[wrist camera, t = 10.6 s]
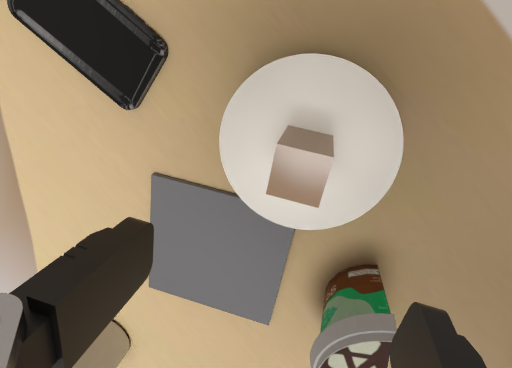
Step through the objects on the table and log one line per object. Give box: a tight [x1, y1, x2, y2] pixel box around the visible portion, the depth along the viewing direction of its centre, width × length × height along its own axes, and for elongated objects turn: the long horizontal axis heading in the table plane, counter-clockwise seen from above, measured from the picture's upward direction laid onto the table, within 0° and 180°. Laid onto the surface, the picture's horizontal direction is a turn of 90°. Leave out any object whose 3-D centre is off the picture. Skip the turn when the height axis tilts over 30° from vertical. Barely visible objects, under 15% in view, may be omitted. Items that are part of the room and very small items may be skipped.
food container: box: [310, 265, 397, 368], centre depth 29 cm, size 12×6×10 cm, turn 3°
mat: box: [149, 173, 295, 325], centre depth 34 cm, size 16×16×1 cm
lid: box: [219, 53, 404, 230], centre depth 20 cm, size 13×13×6 cm
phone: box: [7, 0, 168, 110], centre depth 28 cm, size 8×1×15 cm
